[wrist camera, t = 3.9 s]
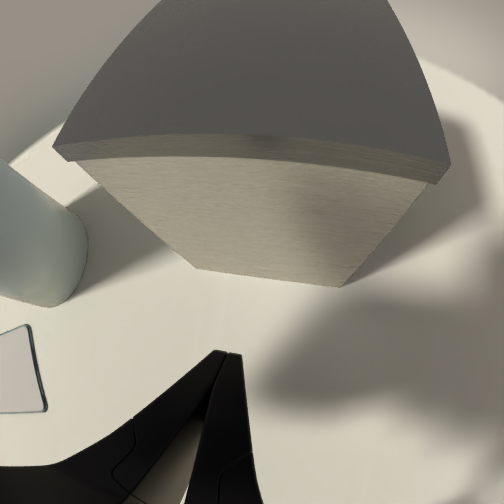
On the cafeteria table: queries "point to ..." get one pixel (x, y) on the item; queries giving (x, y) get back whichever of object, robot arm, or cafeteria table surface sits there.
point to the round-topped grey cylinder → (37, 243)
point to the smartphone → (19, 374)
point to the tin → (263, 133)
